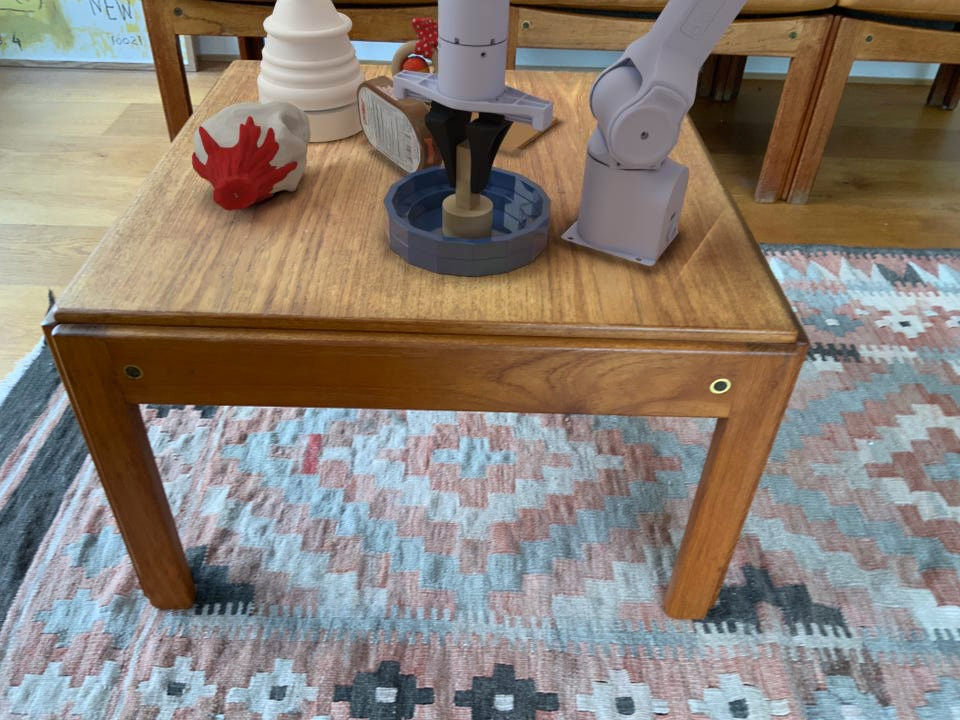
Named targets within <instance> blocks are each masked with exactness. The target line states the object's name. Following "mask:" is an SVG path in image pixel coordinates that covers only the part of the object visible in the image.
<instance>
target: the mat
mask: <svg viewBox="0 0 960 720" xmlns="http://www.w3.org/2000/svg"><path fill="white" fill-rule="evenodd" d="M478 117H479V113H474V112H472V117H471V122H472V121H473V120H474V119H476V118H478ZM556 123H558V117H557V116H554V115H552V123H551V124H550V125H549V127H547V128H546V129H545V130H544V131H538V130H534V129H533V128H532V125H527V124H523V123H518V122H513V124H512V126H511V127H510V129H509V131H508V132H507V134H506V136H505V138H504V140H503V142H502V144H501V146H500V148H499V149H503V150H507V151H511V152H514V151H516V150H517V149H520V150H522V149H523V148H525V147H526V146H528V145H529V144H530V143H532V142H533V141H534V140H536V139H537V138H538V137H539V136H541V135H542V134H543V133H544V132H547V130H549V129H550V128H552V126H554V125H555V124H556Z"/></svg>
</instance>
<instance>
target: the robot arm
mask: <svg viewBox="0 0 960 720" xmlns="http://www.w3.org/2000/svg"><path fill="white" fill-rule="evenodd" d="M510 1H511V0H437V22H438V47H437V48H438V74H433V72H432V73H431V72H430V73H421V72H413V71H407V70H403V71H402V72H400V73H398V74H396V75H395V76H393V77H392V80H393V91H394V98H398V99H406V98H407V97H408V98H412V99H417V100H421V101H424V102H425V103H430V107H429V109H430V112H429V113H427V114H426V115H425V116H424V121H425V125H426V127H427V128H428V130H429V131H430V133H431V135H432V136H433V138H434V140H435V142H436V144H437V146H438V149H439V151H440V154H441V156H442V159H443V160H442V164H443V165H444V166H445V169H446V173H447V177H448V182H449V186H450V187H451V188H455V189H456V148H457V145H459V144H460V143H462V142H463V141H465V140H466V139H468V140H469V145H470V153H471V177H470V187H471V193H474V194H479V193H480V192H482V191H483V190H484V189H485V188H486V187H487V184H488V179H489V175H490V172H491V168H492V166H493V165H494V162H495V159H496V157H497V155H498V152H499V150H500V149H501V148H500V146H501V144H502V142H503V140H504V138H505V136H506V134H507V132H508V131H509V129H510V127H511V126H512V124H513V122H518V123H523V124H527V125H532V128H533V129H534V130H538V131H544V130H545V129H546V128H547V127H549V125H550V124H551V123H552V116H553V113H554V104H555V103H554V101H551V100H549V99H548V100H547V99H544V98H540V97H538V96H535V95H532V94H530V93H528V92H525V91H522V90H520V89H517V88H514V87H512V86H510V85H507V84H506V70H507V69H506V68H507V51H508V36H509V35H508V34H509V18H510V17H509V15H510ZM747 2H748V0H668V2H667V4H666V5H665V6H664V8H663V10H662V11H661V13H660V14H659V16H658V18H657V19H656V20H655V22H654V24H653V25H652V27H651V28H650V29H649V31H648V32H647V33H645V34H644V35H642V36H641V37H639V38H637V39H635V40H633V42H631V43H630V44H628V46H627V47H626V49H625V50H624V52H623V53H622V55H621V56H620V57H619V58H618V60H617V61H615V62H613V63H612V64H611V65H610V66H608V67H607V68H605V69H603V70H602V72H600V73H599V74H598V75H597V76H596V78H595V79H594V81H593V82H592V84H591V86H590V91H589V95H588V106H589V109H590V112H591V115H592V117H593V118H594V119H595V121H597V123H596V127H595V129H594V131H593V133H591V136H590V137H589V139H588V140H587V145H586V154H585V162H584V168H583V170H584V171H583V176H582V184H581V192H580V198H579V199H580V200H579V208H578V215H577V219H576V221H575V222H573V224H571V225H570V227H568V228H567V229H566V230H565V232H563V234H561V236H560V238H561V239H562V240H565V241H567V242H570V243H574V244H576V245H580V246H583V247H585V248H590V249H593V250H596V251H598V252H602V253H606V254H609V255H612V256H615V257H618V258H622V259H625V260H628V261H631V262H634V263H638V264H641V265H644V266H647V267H652V266H654V265H655V264H656V262H657V261H658V260H659V258H661V256H662V255H663V254H664V253H665V251H666V249H667V248H668V247H669V245H670V244H671V243H672V242H673V240H674V239H675V238H676V237H677V235H678V234H679V230H678V229H679V225H680V220H681V215H682V213H683V212H682V211H683V206H684V203H685V198H686V194H687V189H688V185H689V179H690V178H689V177H690V168H689V167H688V166H687V165H685V164H682V163H679V162H677V161H675V160H674V159H672V158H671V157H669V155H671V153H672V151H673V150H674V149H675V148H676V145H677V143H678V141H679V139H680V134H681V130H682V124H683V122H684V119H685V117H686V116H687V114H688V112H689V111H690V109H691V108H692V107H693V105H694V104H695V99H696V93H697V87H698V78H699V73H700V69H701V67H702V66H703V65H704V63H705V62H706V60H707V59H708V58H709V56H710V54H711V53H712V52H713V51H714V49H715V47H716V46H717V45H718V43H719V42H720V40H721V39H722V37H724V34H725V33H726V32H727V30H728V29H729V27H730V26H731V24H732V23H733V22H734V20H735V19H736V17H737V16H738V15H739V14H740V12H741V11H742V9H743V8H744V6H745V5H746V3H747ZM472 112H474V113H479V117H478V118H476V119H474V120H473V121H472V122H471V117H472ZM544 132H545V131H544ZM637 259H639V260H637Z"/></svg>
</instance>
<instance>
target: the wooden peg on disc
mask: <svg viewBox="0 0 960 720" xmlns="http://www.w3.org/2000/svg"><path fill="white" fill-rule="evenodd" d="M470 177H471V153H470V145H469V140H468V139H466V140H465V141H463V142H462V143H460V144H459V145H457V148H456V194H453V195H450V196H448V197H447V198H446V199H445V200H444V201H443V204H442V232H443V235H444V236H445V237H453V238H463V239H482V238H489V237H490V236H491V234H492V218H493V203H492V201H491V200H490V199H489V198H487V197H485V196H483V195H480V193H479V194H474V193H471V187H470Z"/></svg>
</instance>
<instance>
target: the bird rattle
mask: <svg viewBox="0 0 960 720" xmlns="http://www.w3.org/2000/svg"><path fill="white" fill-rule="evenodd" d="M410 24H411V26H412V28H413V30H414V33H415V34H416V36H417V38H418V39H414V40H410V41H407V42H405V43H403V44H402V45H401V46H399V48H398V49H397V50H396V51H395V52H394V54H393V56H392V59H391V63H390V71H391V72H390V73H391V77H392V78H393V76H395V75H396V74H398V73H400V72H402V71H403V70H407V71H413V72H421V73H431V69H430V67H432V66H433V71H432V73H433V74H438V21H436V20H435V19H433V18H432V17H430V16H429V17H426V18H421V17H413V18H411V20H410ZM411 55H412V56H411ZM426 60H428V61H431V63H430V64H428V62H427V61H426Z"/></svg>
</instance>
